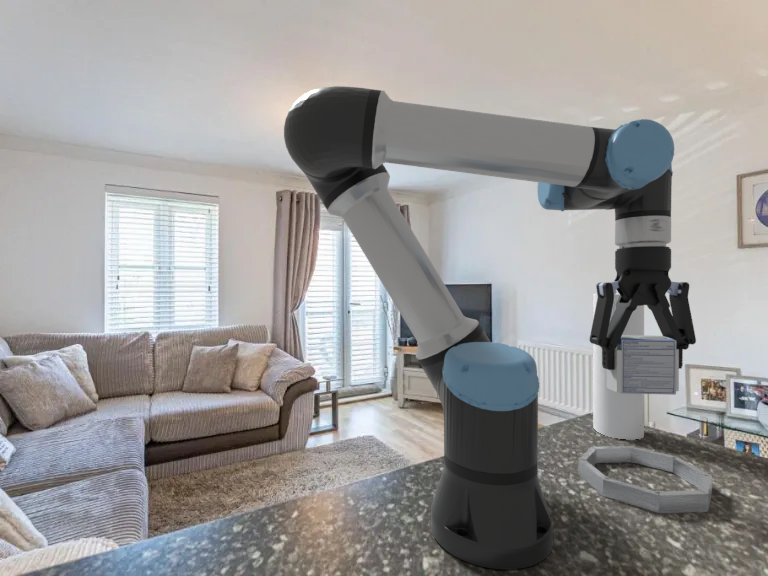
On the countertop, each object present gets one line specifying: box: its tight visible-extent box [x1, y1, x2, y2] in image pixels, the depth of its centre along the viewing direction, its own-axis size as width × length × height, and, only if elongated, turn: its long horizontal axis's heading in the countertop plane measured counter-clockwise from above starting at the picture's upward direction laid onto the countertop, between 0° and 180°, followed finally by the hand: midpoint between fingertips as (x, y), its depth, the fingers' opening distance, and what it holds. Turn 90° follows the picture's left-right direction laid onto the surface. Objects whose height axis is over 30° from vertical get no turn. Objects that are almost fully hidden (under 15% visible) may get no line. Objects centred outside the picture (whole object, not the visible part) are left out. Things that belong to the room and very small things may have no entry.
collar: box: [577, 445, 713, 514], centre depth 66 cm, size 17×17×2 cm
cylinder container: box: [592, 290, 645, 441], centre depth 88 cm, size 9×9×30 cm
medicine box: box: [616, 334, 677, 396], centre depth 65 cm, size 8×4×9 cm, turn 82°
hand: (642, 389), depth 66 cm, fingers closed on medicine box, 8 cm apart
